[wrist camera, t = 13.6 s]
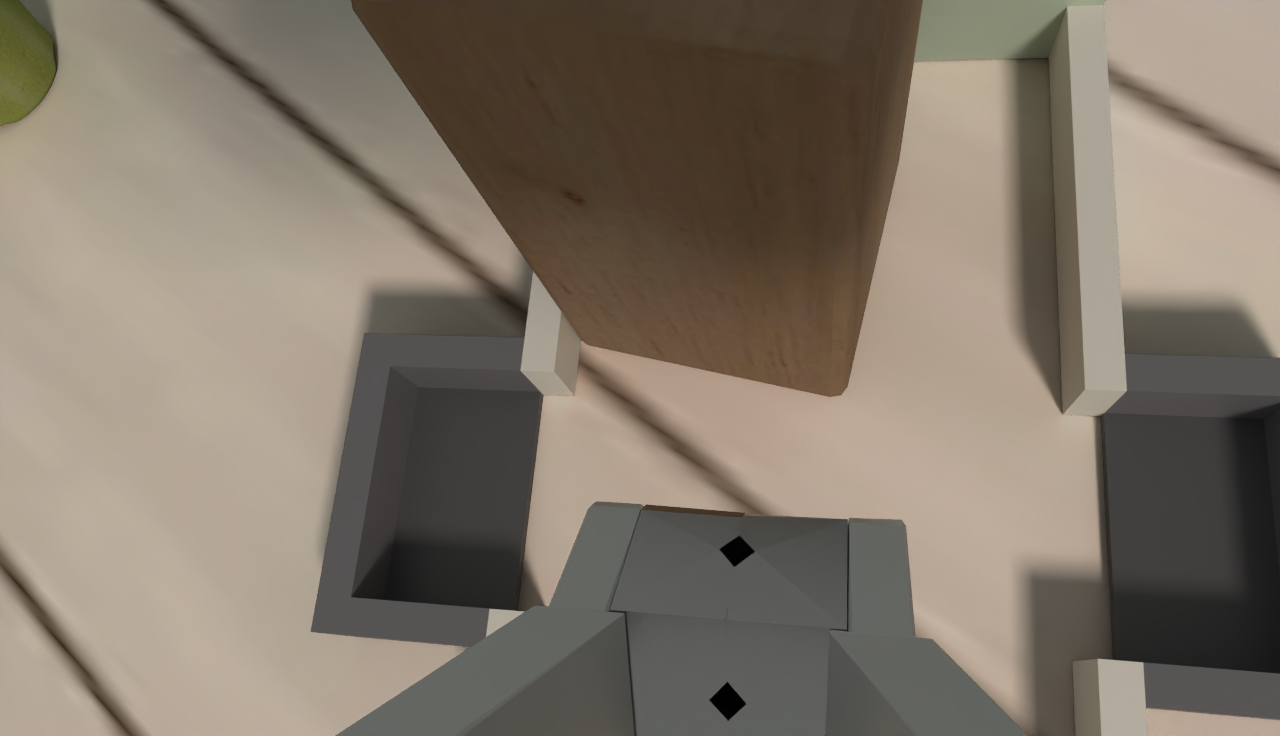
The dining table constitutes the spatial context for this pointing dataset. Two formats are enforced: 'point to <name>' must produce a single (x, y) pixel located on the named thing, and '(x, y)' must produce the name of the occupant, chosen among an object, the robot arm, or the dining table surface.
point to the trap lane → (1085, 249)
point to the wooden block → (678, 161)
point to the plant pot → (22, 61)
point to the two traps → (1133, 480)
